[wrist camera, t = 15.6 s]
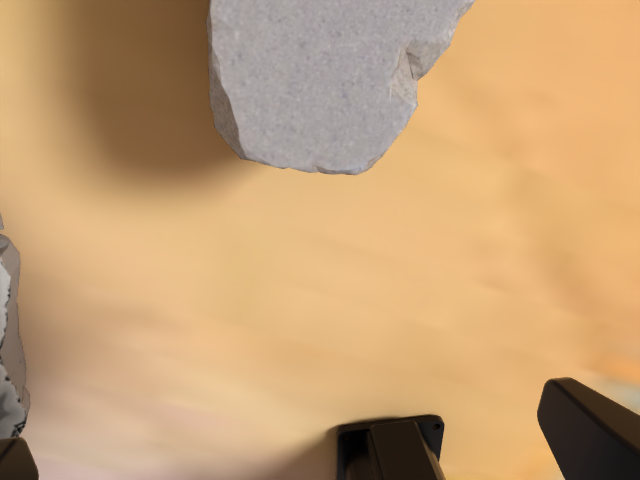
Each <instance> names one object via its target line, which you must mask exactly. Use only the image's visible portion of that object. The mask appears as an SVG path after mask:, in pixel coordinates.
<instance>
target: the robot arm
mask: <svg viewBox="0 0 640 480" xmlns="http://www.w3.org/2000/svg"><path fill="white" fill-rule="evenodd" d="M537 418H538V422H539V425H540V428H541V430H542V432H543V434H544V436H545V438H546V440H547V442H548V444H549V447H550V449H551V451H552V453H553V455H554V457H555V459H556V461H557V464H558V466H559V468H560V470H561V472H562V474H563V476H564V478H565V480H640V415H638V414H636V413H634V412H632V411H631V410H629V409H627V408H625V407H623V406H622V405H620V404H618V403H616V402H614V401H613V400H611V399H609V398H607V397H605V396H604V395H602V394H600V393H598V392H596V391H595V390H593V389H591V388H589V387H587V386H585V385H584V384H582V383H580V382H578V381H576V380H575V379H572V378H568V377H564V378H555V379H549V380H548V381H547V382H546V383H545V385H544V388H543V392H542V395H541V399H540V403H539V406H538V410H537ZM443 432H444V422H443V420H442V418H441V417H440V416H437V415H434V416H425V417H417V418H408V419H399V420H391V421H382V422H373V423H365V424H356V425H347V426H342V427H340V428H339V429H338V430H337V432H336V480H446V479H445V476H444V474H443V472H442V469H441V467H440V465H439V458H440V452H441V445H442V439H443ZM345 434H346V435H345ZM0 480H39V474H38V469H37V466H36V464H35V461H34V459H33V457H32V454H31V452H30V450H29V447H28V445H27V442H26V441H25V440H24V439H23V438H22V437H10V438H1V439H0Z"/></svg>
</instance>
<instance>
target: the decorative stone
mask: <svg viewBox="0 0 640 480" xmlns="http://www.w3.org/2000/svg"><path fill="white" fill-rule="evenodd" d="M474 2H475V0H209V12H208V16H207V19H206V26H207V34H208V55H209V69H208V71H209V83H210V90H209V99H210V107H211V110H212V111H213V113H214V127H215V128H216V130H217V131H218V133H219V134H220V135H221V137H222V138H223V139H224V140H225V141H226V142H227V144H228V145H229V146H230V147H231V148H232V149H233V150H234V152H235V153H236V154H237V155H238V156H239V157H240V159H245V160H251V161H255V162H258V163H262V164H265V165H269V166H273V167H277V168H281V169H285V168H288V167H289V168H292V169H296V170H299V171H304V172H309V173H313V172H320V173H324V174H347V175H358V174H360V173H363V172H365V171H367V170H368V169H370V168H372V166H373V165H374V164H375V163H376V162H377V161H378V160H379V159H380V158H381V157H382V156H383V155H384V154H385V152H386V151H387V149H388V148H389V147H390V146H391V144H392V143H393V142H394V140H395V139H396V138H397V136H398V135H399V134H400V133H401V131H402V130H403V129H404V128H405V127H406V125H407V123H408V121H409V119H410V117H411V116H412V114H413V112H414V111H415V109H416V107H417V106H418V103H417V81H418V80H419V79H420V78H422V77H423V76H424V75H425V74H427V73H428V71H429V70H430V69H431V67H432V66H433V65H434V63H435V62H436V61H437V59H438V58H439V57H440V56H441V55H442V54H443V53H444V52H445V50H446V49H447V48H448V47H449V46H450V43H451V40H452V37H453V35H454V32H455V29H456V27H457V24H458V22H459V20H460V18H461V17H462V16H463V15H464V14H465V13H466V12H467V11H468V10H469V9H470V8H471V6H472V5H473V3H474Z"/></svg>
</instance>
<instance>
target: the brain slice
mask: <svg viewBox="0 0 640 480" xmlns="http://www.w3.org/2000/svg"><path fill="white" fill-rule="evenodd" d="M0 229H4V226H3V222H2V217H1V214H0ZM19 275H20V255H19V252H18V250H17V249H16V247H15V246H14V245H13V243H12V242H11V240H10V239H9V238H8V237H7V236H4V235H2V234H0V439H1V438H10V437H18V436H19V435H20V433H21V432H22V430H23V428H24V427H25V424H26V420H27V416H28V412H29V408H30V394H29V393H28V391H27V389H26V387H25V383H26V363H25V357H24V353H23V347H22V342H21V339H20V336H19V331H18V306H17V293H18V285H19Z"/></svg>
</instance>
